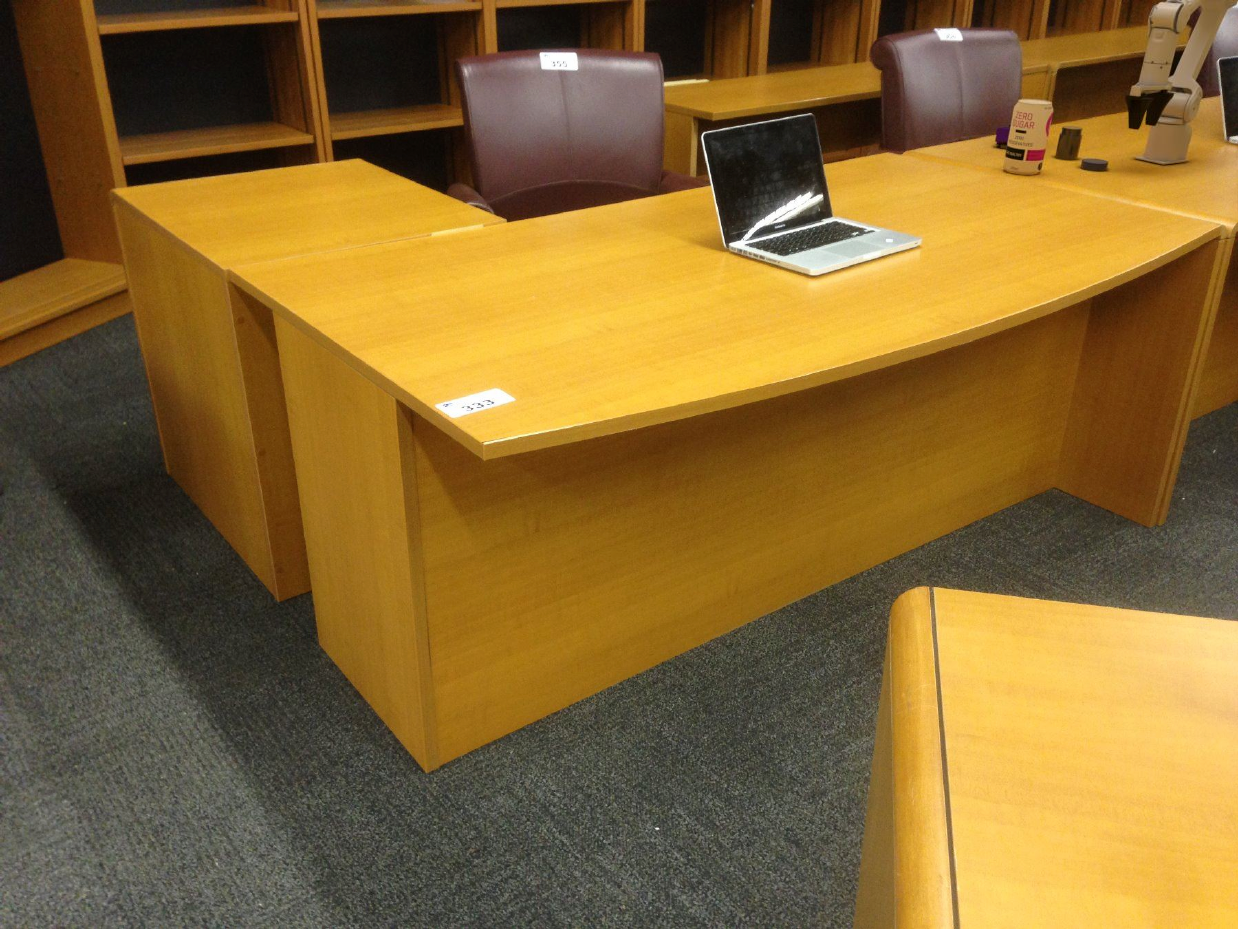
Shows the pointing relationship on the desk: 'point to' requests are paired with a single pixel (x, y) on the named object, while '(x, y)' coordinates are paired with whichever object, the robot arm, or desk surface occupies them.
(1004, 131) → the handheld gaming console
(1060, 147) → the jar
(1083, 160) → the lid
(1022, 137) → the supplement can
